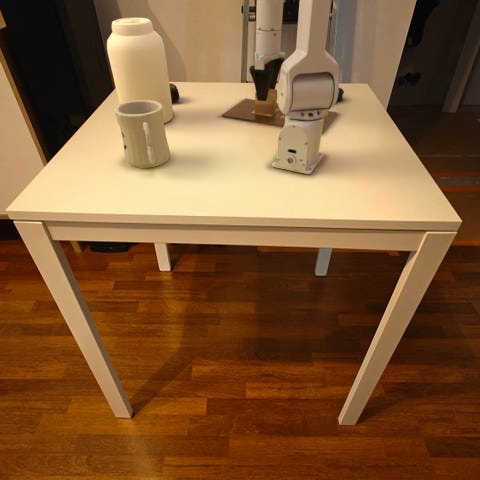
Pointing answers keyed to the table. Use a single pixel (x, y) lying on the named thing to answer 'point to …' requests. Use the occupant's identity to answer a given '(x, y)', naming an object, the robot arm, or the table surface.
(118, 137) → the table surface
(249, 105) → the word mat
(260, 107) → the wooden cube
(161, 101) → the white bottle
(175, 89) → the tape measure
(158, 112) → the mug
